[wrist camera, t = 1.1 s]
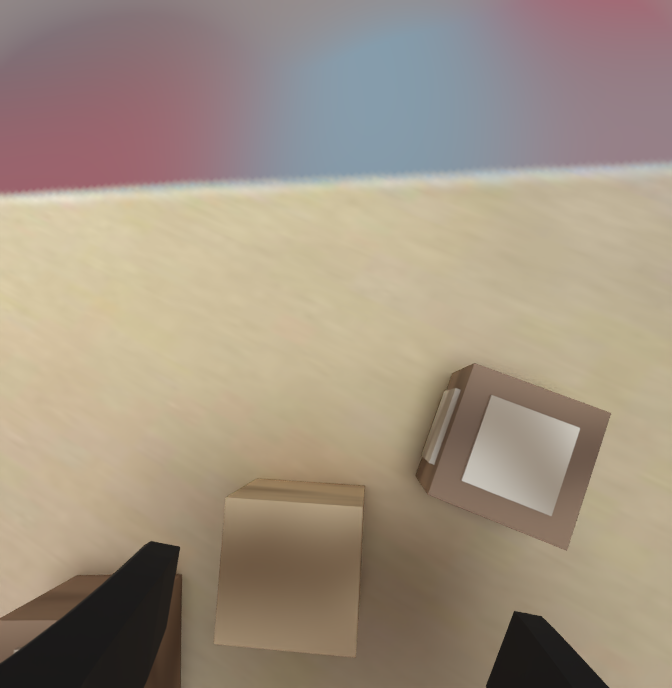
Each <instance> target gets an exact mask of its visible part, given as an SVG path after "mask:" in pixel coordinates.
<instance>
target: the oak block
mask: <svg viewBox="0 0 672 688" xmlns="http://www.w3.org/2000/svg"><path fill="white" fill-rule="evenodd" d="M364 491H365V486H360V485H345V484H330V483H316V482H301V481H286V480H271V479H255V480H254V481H252V482H250V483H249V484H247V485H245V486H244V487H242V488H240V489H239V490H237V491H235V492H234V493H232V494H230V495H229V496H227V497H226V499H225V511H224V523H223V535H222V547H221V559H220V572H219V584H218V596H217V608H216V620H215V632H214V644H218V645H228V646H238V647H249V648H259V649H269V650H280V651H290V652H300V653H311V654H321V655H332V656H342V657H352V658H356V646H357V631H358V616H359V599H360V578H361V556H362V534H363V512H364Z"/></svg>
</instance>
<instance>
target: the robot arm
mask: <svg viewBox="0 0 672 688" xmlns="http://www.w3.org/2000/svg"><path fill="white" fill-rule="evenodd" d="M179 551H180V547H178V546H173V545H168V544H163V543H158V542H152V541H150V542H149V543H147V544H145V545H144V546H143V547H142V548H141V549H140V550H139V551H138V552H137V553H136V554H135V555H134V556H132V557H131V558H130V559H129V560H128V561H127V562H126V563H125V564H124V565H123V566H122V567H121V568H119V569H118V570H117V571H116V572H115V573H114V574H113V575H112V576H110V577H109V578H108V579H107V580H106V581H105V582H104V583H103V584H101V585H100V586H99V587H98V588H97V589H95V590H94V591H93V592H92V593H91V594H89V595H88V596H87V597H86V598H85V599H83V600H82V601H81V602H80V603H79V604H77V605H76V606H75V607H74V608H73V609H71V610H70V611H69V612H68V613H67V614H65V615H64V616H63V617H62V618H60V619H59V620H58V621H56V622H55V623H54V624H52V625H51V626H50V627H49V628H47V629H46V630H45V631H43V632H42V633H41V634H39V635H38V636H37V637H35V638H34V639H33V640H31V641H30V642H29V643H27V644H26V645H25V646H23V647H22V648H21V649H19V650H18V651H17V652H15V653H14V654H13V655H11V656H10V657H8V658H7V659H5V660H4V661H3V662H1V663H0V688H144V686H145V684H146V682H147V680H148V677H149V674H150V671H151V669H152V666H153V663H154V661H155V658H156V655H157V653H158V650H159V647H160V644H161V641H162V639H163V636H164V633H165V630H166V628H167V622H168V616H169V610H170V604H171V598H172V592H173V586H174V580H175V574H176V568H177V563H178V557H179ZM486 688H609V687H608V686H607V685H606V684H605V683H604V682H603V681H602V679H601V678H600V677H599V676H598V675H597V674H596V673H595V672H594V671H593V670H592V669H591V668H590V666H589V665H588V664H587V663H586V662H585V661H584V660H583V659H582V658H581V657H580V656H579V655H578V654H577V652H576V651H575V650H574V649H573V648H572V647H571V646H570V645H569V644H568V643H567V642H566V641H565V640H564V639H563V637H562V636H561V635H560V634H559V633H558V632H557V631H556V630H555V629H554V628H553V627H552V626H551V625H550V624H549V623H548V622H547V621H546V620H545V619H544V618H543V617H542V616H537V615H532V614H527V613H522V612H516V611H514V613H513V616H512V618H511V621H510V624H509V626H508V629H507V632H506V634H505V637H504V640H503V642H502V645H501V648H500V650H499V653H498V656H497V658H496V661H495V663H494V666H493V669H492V671H491V674H490V677H489V679H488V682H487V685H486Z"/></svg>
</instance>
